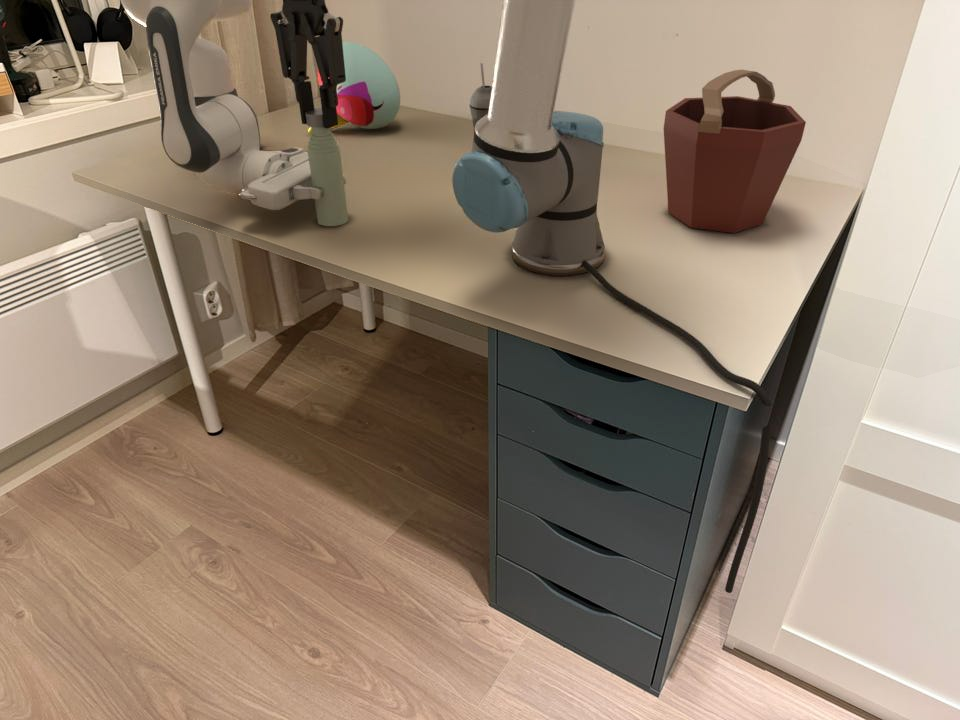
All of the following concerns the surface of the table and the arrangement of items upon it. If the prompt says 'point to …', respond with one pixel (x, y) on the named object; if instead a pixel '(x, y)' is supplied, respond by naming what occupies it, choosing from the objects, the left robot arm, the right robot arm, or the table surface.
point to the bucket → (728, 154)
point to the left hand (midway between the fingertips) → (332, 187)
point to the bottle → (327, 177)
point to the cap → (314, 117)
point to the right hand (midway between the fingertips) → (320, 123)
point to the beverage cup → (480, 101)
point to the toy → (366, 89)
